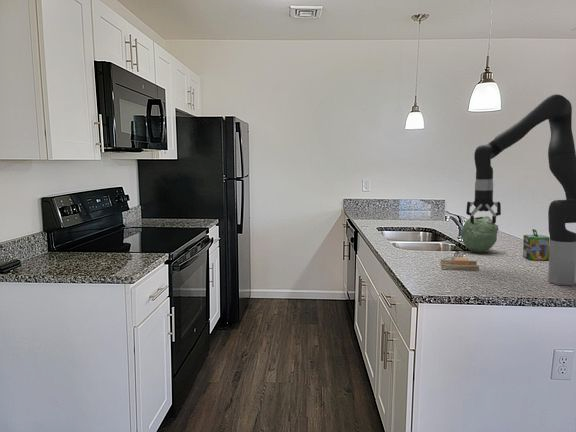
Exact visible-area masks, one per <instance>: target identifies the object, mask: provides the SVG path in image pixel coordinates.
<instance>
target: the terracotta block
mask: <svg viewBox="0 0 576 432" xmlns="http://www.w3.org/2000/svg"><path fill="white" fill-rule="evenodd" d="M453 260H454V265H469V260H470V259H469V258H468V257H453Z"/></svg>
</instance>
